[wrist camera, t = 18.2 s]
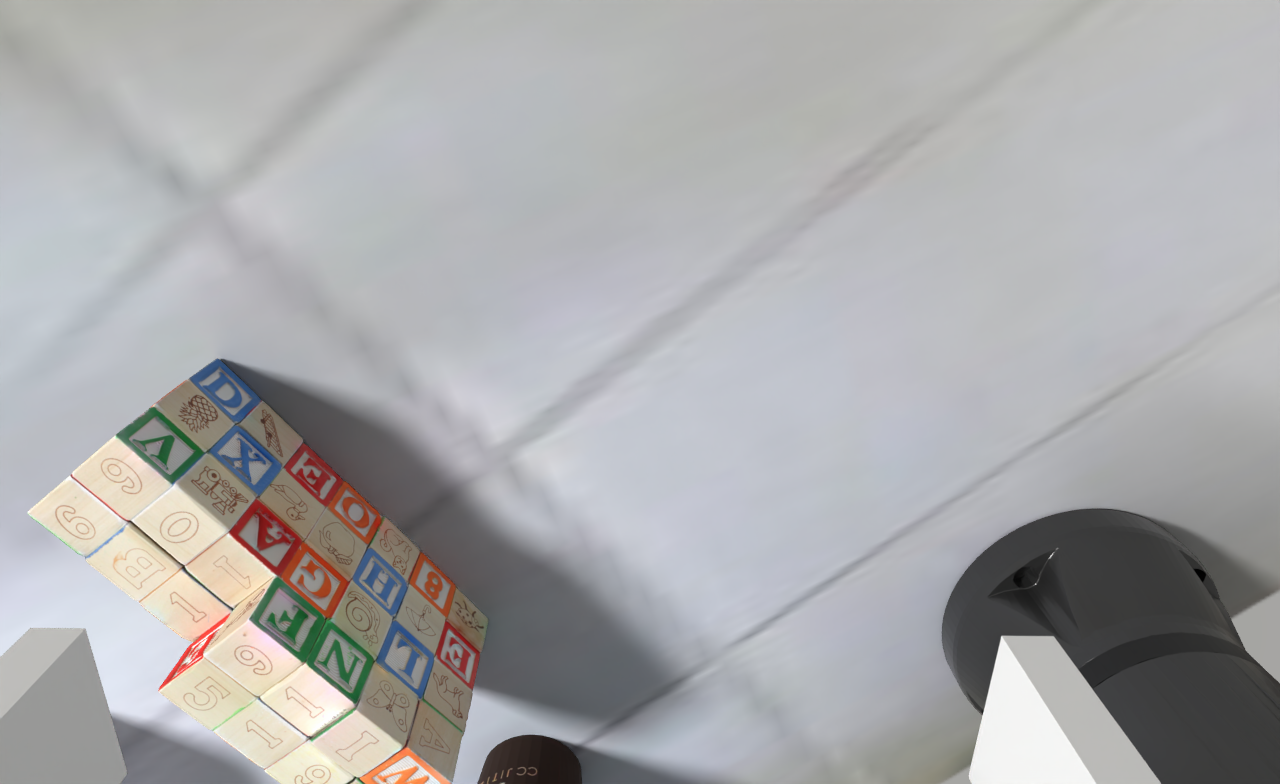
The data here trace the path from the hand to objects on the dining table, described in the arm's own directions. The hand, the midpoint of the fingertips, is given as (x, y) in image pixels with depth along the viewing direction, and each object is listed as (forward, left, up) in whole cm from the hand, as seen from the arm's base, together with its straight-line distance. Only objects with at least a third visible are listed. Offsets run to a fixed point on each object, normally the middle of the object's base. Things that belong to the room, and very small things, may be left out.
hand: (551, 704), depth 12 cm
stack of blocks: (+16, +16, -31) cm, 38 cm away
